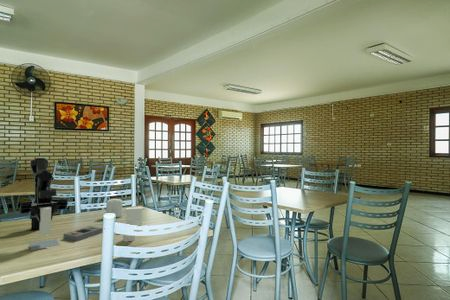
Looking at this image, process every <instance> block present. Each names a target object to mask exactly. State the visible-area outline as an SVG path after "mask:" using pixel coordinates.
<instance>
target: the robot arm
mask: <svg viewBox="0 0 450 300" xmlns="http://www.w3.org/2000/svg"><path fill="white" fill-rule="evenodd" d="M29 163H30V164H29V168H30V170H31V174H32V175H33V183H34V202H32V201H22V202H20V207H19V211H20V214H29V220H31V223H30V224H31V225H30V226H31V228H30V231H39V228H40V221H41V219H40V208H44V207H50V208H51V221H52V220H53V217H54V215H55V213H56V212H59V211H60V210H66V209H67V208H68V201H69V200H68V199H67V198H58V199H57V202H54V201H53V197H56V196H57V189H56V188H52V189H51V186H52V182H53V181H54V179H55V177H54V176H53V174H52V173H51V172H50V171H49V170H47V169H48V168H49V160H48V159H46V158H45V157H36V158H34V159H32V160H30V162H29Z"/></svg>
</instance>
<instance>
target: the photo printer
mask: <svg viewBox="0 0 450 300" xmlns="http://www.w3.org/2000/svg"><path fill="white" fill-rule="evenodd" d="M105 205H106V207H105V214H106V213H115V214H116V217H115V218H122V217H123V200H122V199H121V198H111V199H108V200H107V201H106V204H105Z"/></svg>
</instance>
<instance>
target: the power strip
mask: <svg viewBox="0 0 450 300" xmlns="http://www.w3.org/2000/svg"><path fill="white" fill-rule="evenodd" d="M103 230H104V229H103V227H97V226H91V225H90V226H86V227H83V228H80V229H76V230H73V231H69V232H65V233H63V235H62V236H63V238H62V239H63V240H67V241H72V242H79V241H82V240H84V239H88V238H91V237H94V236H97V235H100V234H102V233H103Z"/></svg>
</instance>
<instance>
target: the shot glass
mask: <svg viewBox="0 0 450 300" xmlns="http://www.w3.org/2000/svg"><path fill="white" fill-rule="evenodd" d="M122 237H123V238H122V240H124V241H132V242H134V241H133V240H135V241H136V237H135V236H126V235H123V234H122ZM124 241H123V242H124Z"/></svg>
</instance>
